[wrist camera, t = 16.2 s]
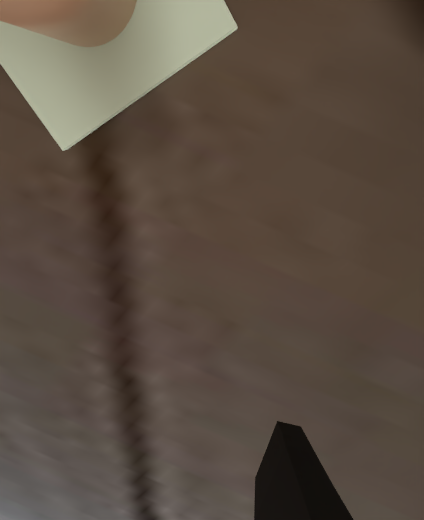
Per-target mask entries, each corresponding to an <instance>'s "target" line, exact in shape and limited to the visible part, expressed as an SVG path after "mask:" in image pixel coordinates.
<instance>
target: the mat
mask: <svg viewBox="0 0 424 520" xmlns="http://www.w3.org/2000/svg"><path fill="white" fill-rule="evenodd" d="M235 30H237V25H236V23H235V21H234V19H233V17H232V15H231V13H230V11H229V9H228V7H227V6H226V4H225V2H224V0H137V2H136V6H135V9H134V12H133V14H132V17H131V19H130V21H129V23H128V24H127V26H126V27H125V28H124V30H123V31H122V32H121V33H120V34H119V35H118V36H117V37H115V38H114V39H113V40H111V41H109V42H107V43H106V44H103V45H100V46H95V47H81V46H76V45H72V44H69V43H66V42H63V41H60V40H57V39H54V38H51V37H48V36H45V35H42V34H39V33H36V32H33V31H30V30H27V29H24V28H21V27H18V26H15V25H12V24H9V23H6V22H3V21H0V64H1V65H2V67H3V68H4V70H5V71H6V72H7V74H8V75H9V77H10V78H11V79H12V81H13V82H14V83H15V85H16V86H17V88H18V89H19V90H20V92H21V93H22V95H23V96H24V97H25V99H26V100H27V102H28V103H29V104H30V106H31V107H32V109H33V110H34V111H35V113H36V114H37V116H38V117H39V118H40V120H41V121H42V123H43V124H44V125H45V127H46V128H47V129H48V131H49V132H50V134H51V135H52V136H53V138H54V139H55V141H56V142H57V143H58V145H59V146H60V148H61V149H62V150H63V151H64V150H67V149H69V148H70V147H72V146H73V145H74V144H76V143H77V142H79V141H80V140H81V139H83V138H84V137H86V136H87V135H89V134H90V133H91V132H93V131H94V130H96V129H97V128H98V127H100V126H101V125H103V124H104V123H105V122H107V121H108V120H110V119H111V118H113V117H114V116H115V115H117V114H118V113H120V112H121V111H122V110H124V109H125V108H127V107H128V106H129V105H131V104H132V103H134V102H135V101H137V100H138V99H139V98H141V97H142V96H144V95H145V94H146V93H148V92H149V91H151V90H152V89H154V88H155V87H156V86H158V85H159V84H161V83H162V82H163V81H165V80H166V79H168V78H169V77H170V76H172V75H173V74H175V73H176V72H178V71H179V70H180V69H182V68H183V67H185V66H186V65H187V64H189V63H190V62H192V61H193V60H194V59H196V58H197V57H199V56H200V55H202V54H203V53H204V52H206V51H207V50H209V49H210V48H211V47H213V46H214V45H216V44H217V43H218V42H220V41H221V40H223V39H224V38H226V37H227V36H228V35H230V34H231V33H233V32H234V31H235Z"/></svg>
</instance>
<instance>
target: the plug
mask: <svg viewBox="0 0 424 520" xmlns="http://www.w3.org/2000/svg"><path fill="white" fill-rule="evenodd" d="M136 2H137V0H0V21H3V22H6V23H9V24H12V25H15V26H18V27H21V28H24V29H27V30H30V31H33V32H36V33H39V34H42V35H45V36H48V37H51V38H54V39H57V40H60V41H63V42H66V43H69V44H72V45H76V46H81V47H95V46H100V45H103V44H106V43H107V42H109V41H111V40H113V39H114V38H115V37H117V36H118V35H119V34H120V33H121V32H122V31H123V30H124V28H125V27H126V26H127V24H128V23H129V21H130V19H131V17H132V14H133V12H134V9H135V6H136Z"/></svg>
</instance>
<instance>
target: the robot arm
mask: <svg viewBox="0 0 424 520" xmlns="http://www.w3.org/2000/svg"><path fill="white" fill-rule="evenodd" d="M254 520H353V518H352V516H351V515H350V513H349V511H348V510H347V508H346V506H345V505H344V503H343V501H342V500H341V498H340V496H339V495H338V493H337V491H336V489H335V488H334V486H333V484H332V482H331V481H330V479H329V477H328V475H327V473H326V472H325V470H324V468H323V466H322V464H321V463H320V461H319V459H318V457H317V455H316V453H315V452H314V450H313V448H312V446H311V444H310V442H309V441H308V439H307V437H306V435H305V433H304V432H303V430H302V428H301V427H300V426H296V425H292V424H287V423H283V422H279V421H277V424H276V426H275V429H274V431H273V434H272V436H271V439H270V442H269V444H268V447H267V449H266V452H265V454H264V457H263V460H262V462H261V465H260V467H259V470H258V472H257V475H256V477H255V514H254Z"/></svg>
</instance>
